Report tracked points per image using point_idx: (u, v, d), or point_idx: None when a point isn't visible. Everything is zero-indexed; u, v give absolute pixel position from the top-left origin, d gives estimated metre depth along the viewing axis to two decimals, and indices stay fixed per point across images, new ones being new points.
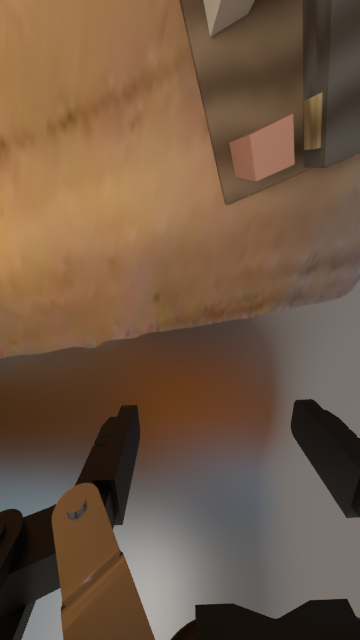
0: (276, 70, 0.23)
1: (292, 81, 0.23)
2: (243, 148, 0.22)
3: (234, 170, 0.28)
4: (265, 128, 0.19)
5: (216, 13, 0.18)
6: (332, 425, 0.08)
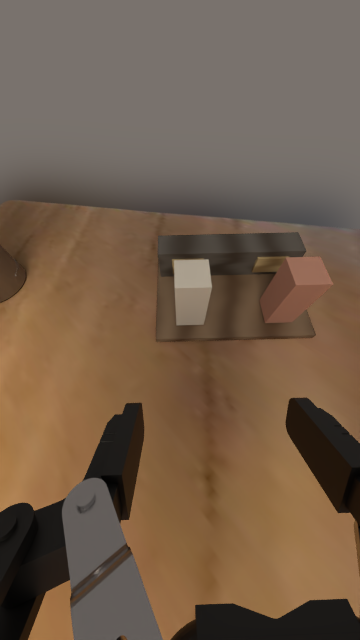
0: (230, 289, 0.33)
1: (238, 280, 0.33)
2: (291, 299, 0.24)
3: None
4: (292, 274, 0.22)
5: (206, 310, 0.26)
6: (325, 422, 0.08)
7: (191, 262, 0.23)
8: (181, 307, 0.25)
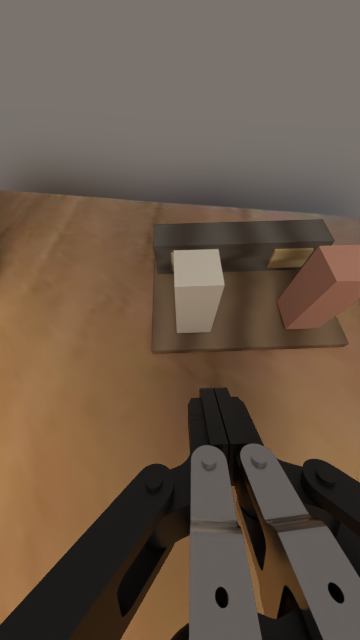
0: (240, 288, 0.27)
1: (249, 278, 0.28)
2: (326, 300, 0.18)
3: None
4: (330, 267, 0.17)
5: (214, 315, 0.20)
6: (229, 408, 0.09)
7: (196, 253, 0.18)
8: (183, 311, 0.19)
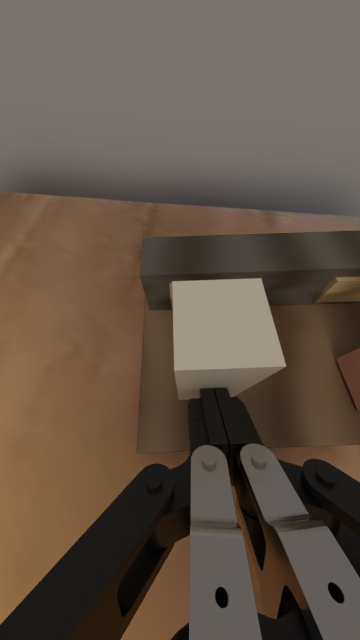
0: None
1: (288, 316, 0.19)
2: None
3: None
4: None
5: (245, 388, 0.12)
6: (229, 408, 0.09)
7: (217, 287, 0.09)
8: (191, 388, 0.11)
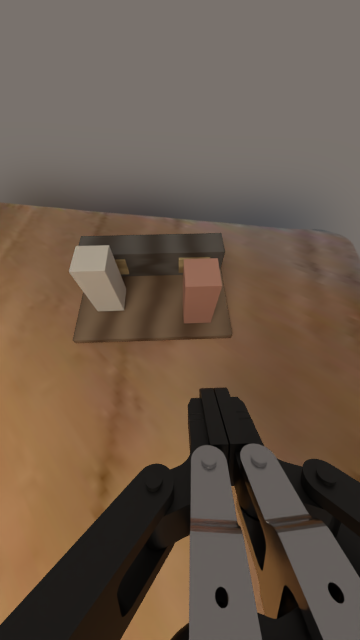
0: (156, 289, 0.33)
1: (165, 281, 0.34)
2: (192, 300, 0.24)
3: (205, 322, 0.30)
4: (185, 276, 0.22)
5: (116, 295, 0.27)
6: (229, 408, 0.09)
7: (91, 248, 0.24)
8: (89, 292, 0.26)
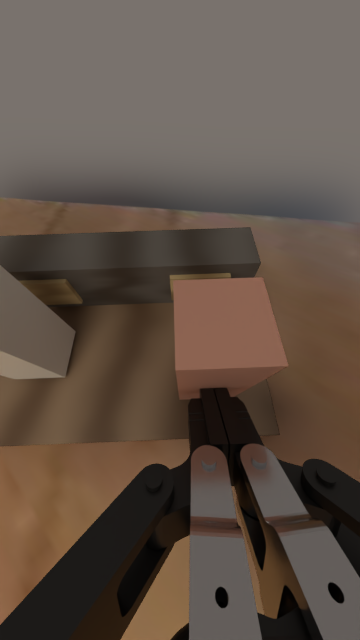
0: (131, 331, 0.18)
1: (149, 314, 0.19)
2: (196, 384, 0.10)
3: None
4: (177, 332, 0.08)
5: (29, 363, 0.12)
6: (229, 408, 0.09)
7: None
8: None
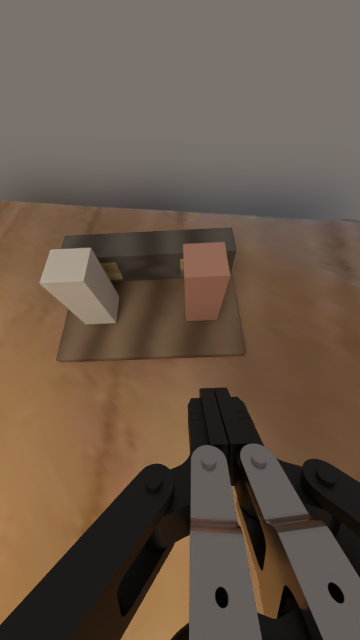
0: (154, 296, 0.28)
1: (165, 286, 0.28)
2: (194, 294, 0.20)
3: (210, 319, 0.26)
4: (184, 264, 0.18)
5: (103, 308, 0.22)
6: (229, 408, 0.09)
7: (69, 251, 0.19)
8: (71, 305, 0.22)
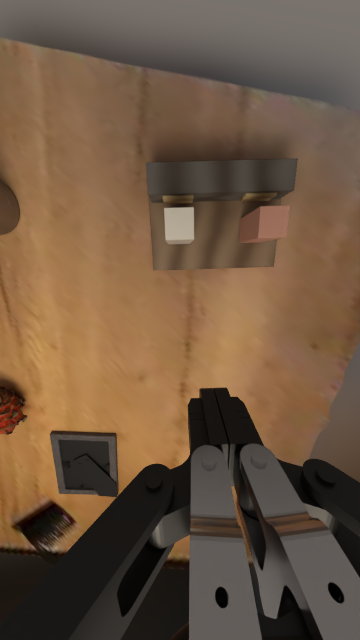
0: (216, 219, 0.36)
1: (225, 208, 0.35)
2: None
3: (256, 242, 0.37)
4: (259, 226, 0.28)
5: None
6: (229, 408, 0.09)
7: (178, 211, 0.27)
8: (171, 242, 0.32)
